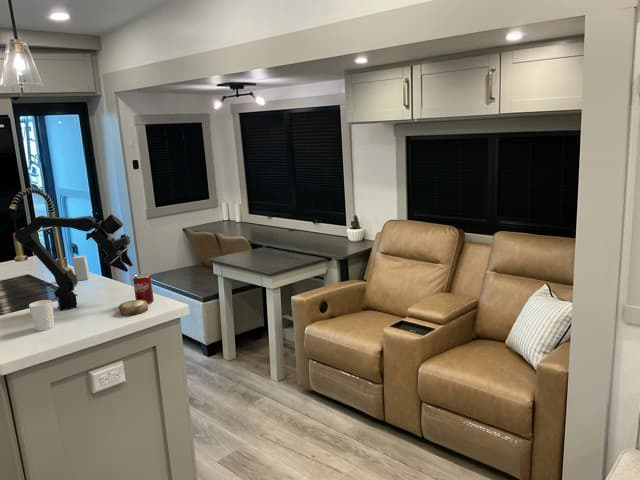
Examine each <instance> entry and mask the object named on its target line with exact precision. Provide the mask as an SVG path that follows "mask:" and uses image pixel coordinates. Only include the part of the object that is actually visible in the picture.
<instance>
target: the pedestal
mask: <svg viewBox="0 0 640 480" xmlns="http://www.w3.org/2000/svg"><path fill="white" fill-rule="evenodd" d="M148 305H149V304H147V301H145V300H136V299H133V300H129V301H125V302H122V303H120V304H119V305H118V310H119V315H121V316H122V317H132V316H137V315H142V314H144V313H146V312H147V311H148V310H149V306H148Z"/></svg>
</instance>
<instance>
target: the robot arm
mask: <svg viewBox="0 0 640 480" xmlns="http://www.w3.org/2000/svg"><path fill="white" fill-rule="evenodd" d="M42 227H50V228H51V227H54V228H71V229H74V230H78V231H80V232H87V233H85V237H86V238H85V240H86V241H88V240H90V239H92V240H93V241H94V242H95V243H96V244H97V245H98V246H99V250H100V251H103V252H104V253H105V254H106V255H105V256H106V257H104V259H103V263H104V264H105V265H106V266H109V267H110V266H111V267H113V268H116V269H118V270H120V271H123V272H125V273H127V272H128V271H129V269H128V267H130V268H131V267H132V266H133V265H134V264H133V263H132V260H131V259H130V256H129V255H128V251H129V248H128V245H130V244H131V238H130V236H128V235H127V234H125V233H123V234H121V235H120V238H117V239H116V238H114V237H110V236H109V235H110V234H111V235H114V234H116V232H117V231H119V229H121V228H123V227H124V224H123V222H122V221H121V219H119V218H118V217H117V216H115V215H114V214H112V213H110V214H109V215H108V216H107V217H106V219H104V220H100V219H96V218H95V217H94V216H93V215H86V216H78V217H65V216H64V217H60V216H45V215H38V216H37V217H35V218H34V219H32V221H31V222H29V224H27V225H26V226H24V227H22V228H20V229H17V230H16V231H15V232H14V239H15V240H16V241H17V242H19V244H21V245H22V246H23V247H25V248H27V249H29V250H30V251H31V252H32V253H33V254H34V255H35V256H36V257H37V259H38V260H39V261H40V262H41V263H42V264H43V265H44V266H45V267H46V269H47V270H48V271H49V272H50V273H51V274H52V276H53V277H54V279H55V283H56V284H57V286H58V288H56V290H55V291H54V293H53V294H54V295H55V297H56V299H57V305H58V306H57V309H58V310H60V312H61V311H67V310H70V309H75V308H78V302H77V301H78V300H77V296H76V294H75V292H74V291H75V288H76V286H78V282H79V281H78V280H77V278H76V277H77V276H76V275H75V272H73V271H72V269H69V270H66V269H65V268H64V267H62V266H61V264H60V263H59V262H58V261H57V259H55V258H54V256H53V255H52V254H51V253H50V252H49V251H48V249H47V248H45V246H44V245H43V244H42V242H41V240H40V237H39V235H38V233H37V232H38V231H40V230H41V228H42ZM98 228H99V229H98ZM126 265H127V266H128V267H127V266H126Z"/></svg>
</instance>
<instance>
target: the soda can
mask: <svg viewBox="0 0 640 480" xmlns="http://www.w3.org/2000/svg"><path fill="white" fill-rule="evenodd" d="M132 282H133V290H134V291H133V292H134V296H135V298H134V299H135V300H145V301H147V305H151V304H152V303H153V302H154V301H155V300H154V291H153V290H154V289H153V284H152V276H151V275H150V273H141V274H136V275H134V276H133V277H132Z"/></svg>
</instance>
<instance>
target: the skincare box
mask: <svg viewBox="0 0 640 480" xmlns="http://www.w3.org/2000/svg"><path fill="white" fill-rule="evenodd" d="M71 260H72V265H73V270H74V272H73V273H74V274H75V275H76V276H77V277H76V278H77V280H78V282H79V281H86V280H87V281H88V280H90V278H91V276H90V275H91V274H90V269H89V265H88V259H87V255H77V256H74V257H72V258H71Z"/></svg>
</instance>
